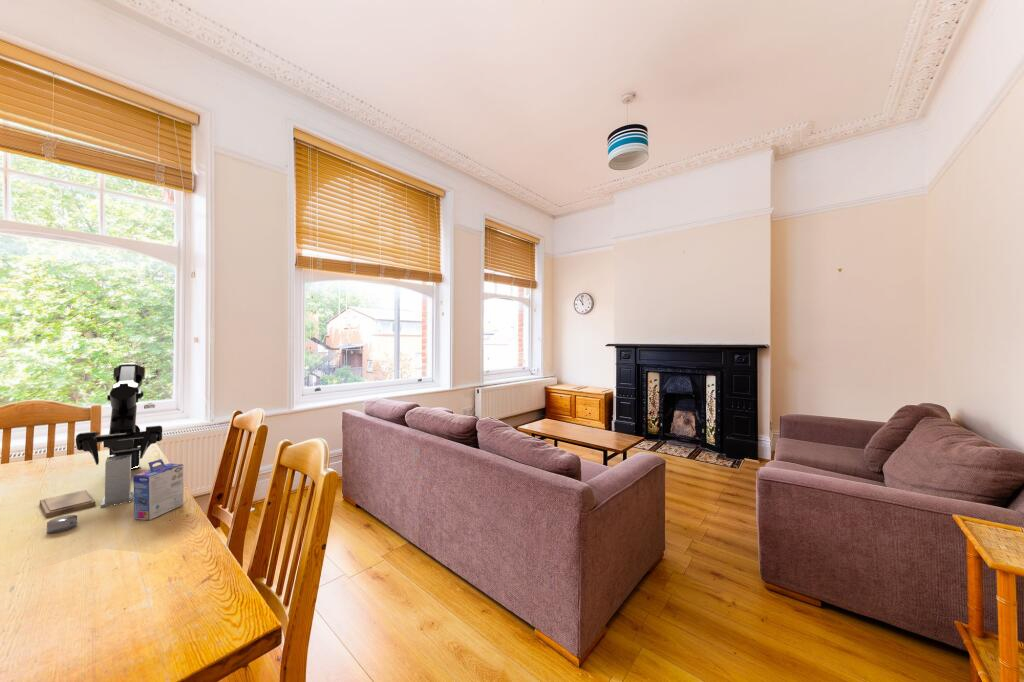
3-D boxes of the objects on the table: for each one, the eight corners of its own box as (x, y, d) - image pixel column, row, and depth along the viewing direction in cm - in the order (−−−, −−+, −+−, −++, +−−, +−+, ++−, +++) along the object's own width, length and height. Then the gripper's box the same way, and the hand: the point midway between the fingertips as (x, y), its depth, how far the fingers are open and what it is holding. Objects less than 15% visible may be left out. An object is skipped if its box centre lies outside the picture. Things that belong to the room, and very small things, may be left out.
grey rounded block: (75, 522, 100) (75, 513, 100) (78, 528, 97) (79, 518, 97) (45, 530, 96) (45, 520, 96) (48, 536, 93) (48, 526, 93)
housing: (103, 500, 113) (104, 456, 112) (134, 494, 117) (134, 452, 117) (100, 507, 108) (101, 462, 108) (132, 501, 112) (133, 458, 112)
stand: (86, 493, 116) (86, 489, 116) (95, 505, 109) (95, 500, 109) (39, 504, 109) (39, 499, 109) (46, 517, 101) (46, 512, 101)
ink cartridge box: (168, 503, 112) (169, 455, 112) (184, 504, 111) (185, 456, 111) (131, 519, 102) (132, 466, 102) (149, 521, 101) (150, 467, 101)
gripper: (162, 428, 133) (161, 468, 125) (82, 436, 120) (75, 481, 112) (162, 409, 127) (161, 450, 119) (79, 416, 114) (71, 461, 106)
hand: (119, 461), depth 114 cm, fingers open, 9 cm apart
